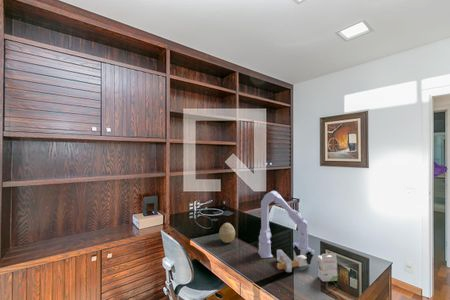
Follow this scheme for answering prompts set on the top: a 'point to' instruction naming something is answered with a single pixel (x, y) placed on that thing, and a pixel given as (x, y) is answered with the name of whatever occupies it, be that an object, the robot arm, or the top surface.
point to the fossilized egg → (227, 233)
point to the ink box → (327, 267)
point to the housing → (284, 260)
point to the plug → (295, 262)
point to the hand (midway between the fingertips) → (303, 261)
